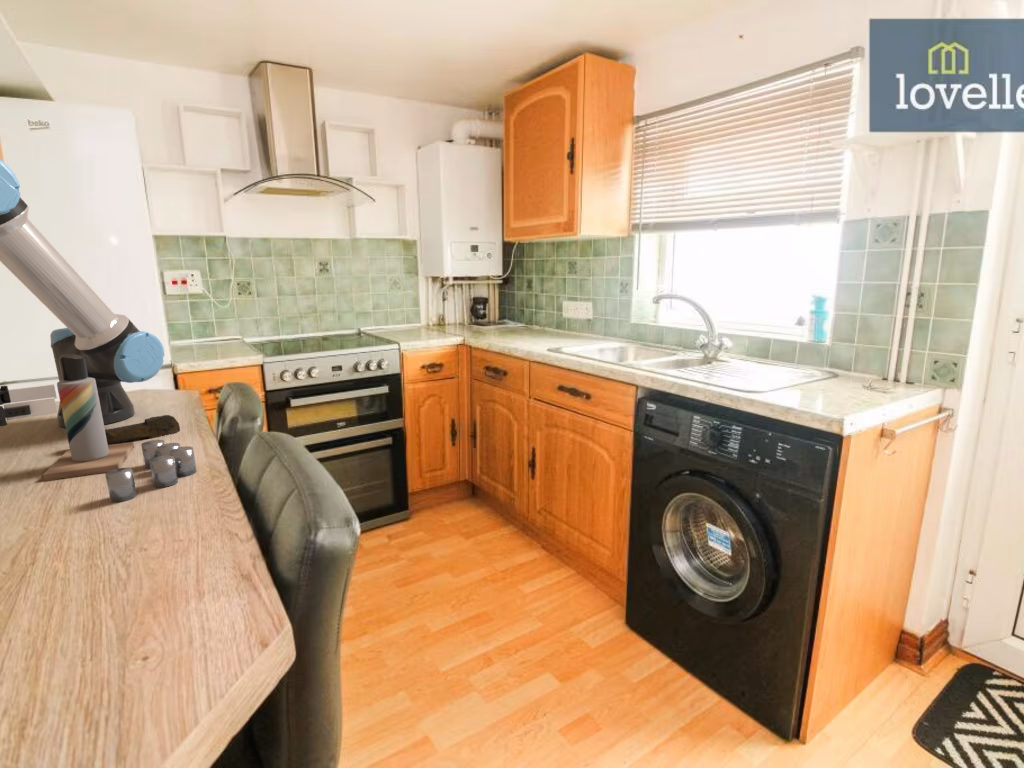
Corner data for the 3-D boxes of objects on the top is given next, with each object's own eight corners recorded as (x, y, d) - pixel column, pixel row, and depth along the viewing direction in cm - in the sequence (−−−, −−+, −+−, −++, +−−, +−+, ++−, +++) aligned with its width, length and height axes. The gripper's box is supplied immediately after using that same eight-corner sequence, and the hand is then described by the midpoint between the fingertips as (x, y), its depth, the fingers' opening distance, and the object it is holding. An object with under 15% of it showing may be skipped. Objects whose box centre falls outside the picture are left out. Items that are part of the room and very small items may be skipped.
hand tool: (73, 455, 110) (69, 433, 109) (74, 449, 113) (70, 428, 112) (181, 436, 121) (178, 416, 120) (179, 431, 124) (176, 412, 123)
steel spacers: (131, 465, 103) (127, 443, 102) (201, 456, 107) (197, 434, 106) (107, 503, 87) (102, 477, 86) (190, 490, 91) (186, 465, 90)
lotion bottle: (85, 452, 107) (65, 352, 102) (115, 451, 107) (97, 351, 103) (64, 463, 101) (43, 357, 97) (97, 461, 102) (77, 357, 97)
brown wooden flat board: (68, 455, 109) (67, 450, 108) (134, 447, 113) (133, 441, 113) (44, 481, 96) (42, 474, 96) (118, 470, 101) (117, 464, 100)
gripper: (-95, 425, 96) (59, 404, 109) (-131, 464, 77) (60, 433, 91) (-107, 384, 94) (51, 367, 108) (-146, 414, 76) (51, 389, 89)
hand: (56, 397), depth 99 cm, fingers open, 13 cm apart
